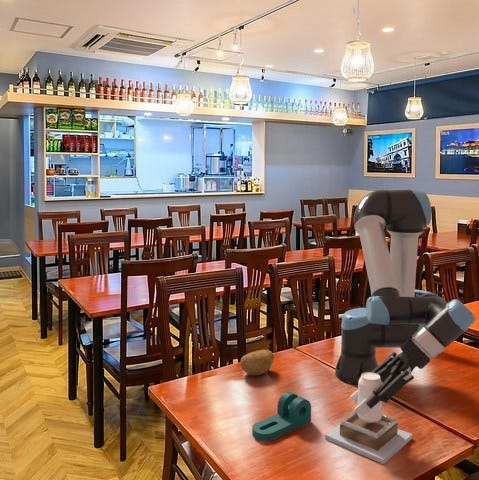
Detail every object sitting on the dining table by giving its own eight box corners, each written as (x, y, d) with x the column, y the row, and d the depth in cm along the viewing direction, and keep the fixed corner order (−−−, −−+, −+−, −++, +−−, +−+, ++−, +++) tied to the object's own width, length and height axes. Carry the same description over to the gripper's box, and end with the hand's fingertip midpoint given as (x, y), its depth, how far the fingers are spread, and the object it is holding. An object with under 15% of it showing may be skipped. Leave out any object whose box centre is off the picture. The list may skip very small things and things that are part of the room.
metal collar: (341, 424, 131) (341, 420, 131) (361, 410, 139) (361, 406, 139) (377, 439, 124) (377, 435, 124) (396, 423, 132) (396, 419, 131)
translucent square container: (339, 434, 132) (340, 424, 131) (360, 419, 140) (361, 409, 139) (377, 450, 124) (377, 439, 124) (397, 433, 132) (397, 423, 132)
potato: (281, 371, 176) (281, 350, 175) (253, 383, 166) (253, 360, 165) (262, 364, 183) (262, 343, 182) (234, 374, 173) (233, 353, 172)
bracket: (294, 413, 146) (294, 388, 145) (310, 422, 141) (311, 396, 140) (247, 433, 135) (247, 407, 134) (263, 444, 130) (263, 416, 129)
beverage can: (352, 415, 133) (353, 373, 131) (372, 411, 135) (373, 369, 133) (366, 426, 127) (367, 382, 126) (386, 421, 129) (387, 378, 128)
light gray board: (324, 438, 132) (325, 434, 132) (355, 416, 144) (355, 413, 143) (383, 464, 120) (383, 459, 120) (411, 438, 132) (412, 434, 132)
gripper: (444, 373, 118) (373, 435, 122) (420, 345, 137) (359, 399, 141) (422, 352, 118) (351, 414, 121) (401, 326, 137) (340, 381, 140)
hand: (355, 406), depth 131 cm, fingers closed on beverage can, 6 cm apart
